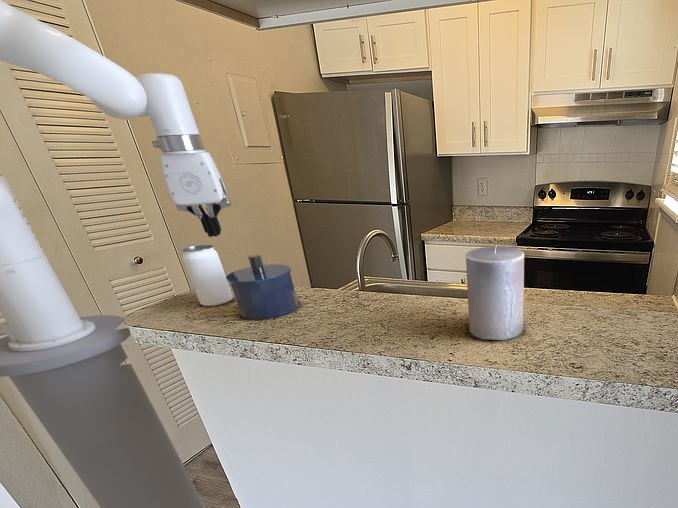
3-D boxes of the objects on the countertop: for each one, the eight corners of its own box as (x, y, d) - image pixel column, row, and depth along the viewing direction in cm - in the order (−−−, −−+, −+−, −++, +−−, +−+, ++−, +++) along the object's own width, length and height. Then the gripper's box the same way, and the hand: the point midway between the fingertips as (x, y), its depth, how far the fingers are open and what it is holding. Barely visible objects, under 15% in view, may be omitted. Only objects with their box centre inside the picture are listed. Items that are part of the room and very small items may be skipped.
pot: (234, 322, 80) (221, 285, 76) (249, 303, 89) (238, 270, 85) (293, 316, 82) (283, 280, 78) (301, 297, 91) (293, 265, 87)
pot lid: (219, 289, 76) (211, 266, 74) (237, 272, 86) (230, 251, 84) (285, 283, 78) (279, 260, 76) (296, 267, 88) (290, 246, 86)
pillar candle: (499, 314, 78) (499, 236, 71) (534, 331, 71) (537, 245, 64) (458, 328, 73) (453, 245, 66) (491, 347, 67) (489, 256, 59)
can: (236, 295, 94) (218, 243, 88) (230, 304, 89) (210, 249, 83) (205, 299, 92) (184, 246, 87) (197, 308, 87) (174, 253, 81)
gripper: (133, 148, 80) (172, 242, 89) (215, 144, 82) (245, 235, 91) (151, 147, 86) (185, 235, 95) (226, 143, 89) (253, 229, 98)
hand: (214, 235), depth 93 cm, fingers closed
